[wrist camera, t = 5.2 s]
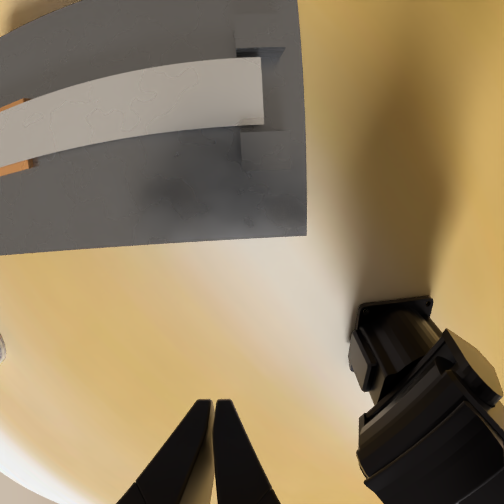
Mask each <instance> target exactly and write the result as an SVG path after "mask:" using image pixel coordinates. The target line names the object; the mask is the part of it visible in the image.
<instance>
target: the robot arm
mask: <svg viewBox="0 0 504 504" xmlns="http://www.w3.org/2000/svg"><path fill="white" fill-rule="evenodd" d="M427 302H428V303H427ZM426 303H427V304H426ZM432 306H433V299H432V298H431V297H430V296H422V297H414V298H407V299H399V300H390V301H382V302H373V303H364V304H362V305H360V307H359V308H358V313H357V320H356V327H355V330H354V331H353V332H352V335H351V341H350V348H349V354H348V358H349V360H350V363H349V367H350V370H351V371H352V372H354V373H355V375H356V377H357V380H358V383H359V385H360V388H361V390H362V391H363V392H368V391H369V393H370V395H371V398H372V400H373V403H374V405H375V406H374V407H373V408H372V409H370V410H369V411H368V412H367V413H364V414H363V415H362V416H361V417H360V418H359V448H358V450H357V451H356V456H357V459H358V462H359V466H360V469H361V471H362V473H363V475H364V476H365V477H366V480H365V481H364V484H365V485H366V486H367V487H368V488H369V489H371V490H372V491H373V492H374V493H375V494H376V495H377V496H378V497H379V498H380V500H381V501H382V502H383V503H384V504H504V406H503V405H502V403H501V402H500V401H499V400H500V399H501V398H502V397H503V396H504V395H503V391H502V388H501V386H500V383H499V380H498V377H497V374H496V372H495V369H494V367H493V366H492V365H491V364H490V363H489V362H488V361H487V359H486V358H485V357H484V356H483V355H482V354H481V353H480V352H479V351H478V350H477V349H476V348H475V347H474V346H472V345H471V344H469V343H468V342H466V341H465V340H463V339H462V338H461V337H459V336H458V335H456V334H455V333H453V332H452V331H450V330H449V329H447V328H446V329H445V331H444V332H443V333H442V332H441V331H440V329H439V328H438V327H437V326H436V325H435V323H434V322H433V321H432V320H431V319H430V314H431V310H432ZM365 309H367V311H365V312H363V311H364V310H365ZM214 473H215V479H216V490H217V500H218V504H281V503H280V502H279V500H278V498H277V496H276V494H275V492H274V490H273V489H272V486H271V484H270V482H269V480H268V478H267V476H266V474H265V472H264V470H263V468H262V466H261V464H260V462H259V460H258V458H257V455H256V453H255V451H254V449H253V447H252V445H251V443H250V440H249V438H248V436H247V434H246V432H245V429H244V427H243V425H242V423H241V420H240V418H239V416H238V414H237V411H236V409H235V407H234V404H233V402H232V400H231V399H218V400H217V403H216V410H215V411H214V406H213V402H212V400H210V399H198V400H197V401H196V402H195V403H194V405H193V406H192V407H191V409H190V410H189V412H188V413H187V414H186V416H185V417H184V418H183V420H182V421H181V422H180V424H179V425H178V426H177V428H176V429H175V430H174V432H173V433H172V434H171V436H170V437H169V438H168V440H167V441H166V442H165V443H164V445H163V446H162V447H161V449H160V450H159V451H158V453H157V454H156V455H155V456H154V458H153V459H152V460H151V462H150V463H149V464H148V465H147V467H146V468H145V469H144V471H143V472H142V473H141V474H140V476H139V477H138V478H137V479H136V483H135V482H134V483H133V484H132V486H131V487H130V488H129V489H128V491H127V492H126V493H125V494H124V495H123V496H122V498H121V499H120V500H119V501H118V502H117V503H116V504H210V500H211V493H212V486H213V480H214Z"/></svg>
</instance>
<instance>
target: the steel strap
mask: <svg viewBox="0 0 504 504" xmlns="http://www.w3.org/2000/svg"><path fill="white" fill-rule="evenodd" d="M244 125H264V110H263V90H262V71H261V57H247V58H228V59H215V60H204V61H195V62H186V63H178V64H171V65H165V66H158V67H152V68H147V69H141V70H136V71H131V72H126V73H121V74H117V75H112V76H108V77H104V78H100V79H96V80H92V81H88V82H85V83H81V84H78V85H74V86H71V87H67V88H64V89H61V90H58V91H55V92H52V93H49V94H46V95H43V96H40V97H37V98H34V99H32V100H29V101H26V102H24V103H21V104H18V105H16V106H13V107H11V108H9V109H6V110H4V111H1V112H0V168H1V167H4V166H7V165H11V164H14V163H17V162H21V161H25V160H28V159H32V158H36V157H39V156H43V155H47V154H51V153H55V152H59V151H64V150H68V149H73V148H77V147H82V146H87V145H92V144H97V143H102V142H107V141H113V140H118V139H124V138H131V137H137V136H144V135H151V134H158V133H166V132H174V131H183V130H192V129H203V128H214V127H228V126H244Z"/></svg>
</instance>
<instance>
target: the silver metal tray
mask: <svg viewBox="0 0 504 504" xmlns="http://www.w3.org/2000/svg"><path fill="white" fill-rule="evenodd" d="M247 57H261V71H262V90H263V110H264V125H244V126H228V127H214V128H203V129H192V130H183V131H174V132H166V133H158V134H151V135H144V136H137V137H131V138H124V139H118V140H113V141H107V142H102V143H97V144H92V145H87V146H82V147H77V148H73V149H68V150H64V151H59V152H55V153H51V154H47V155H43V156H39V157H36V158H32V159H28V160H25V161H21V162H17V163H14V164H11V165H7V166H4V167H1V168H0V255H11V254H24V253H36V252H49V251H63V250H76V249H90V248H104V247H118V246H133V245H149V244H164V243H180V242H197V241H213V240H231V239H249V238H268V237H287V236H307V180H306V134H305V107H304V86H303V68H302V53H301V39H300V27H299V15H298V4H297V0H82V1H79V2H76V3H74V4H71V5H68V6H66V7H63V8H61V9H58V10H56V11H53V12H51V13H49V14H46V15H44V16H42V17H40V18H38V19H35V20H33V21H31V22H29V23H27V24H25V25H23V26H21V27H19V28H17V29H15V30H13V31H11V32H9V33H8V34H6V35H4V36H2V37H0V112H1V111H4V110H6V109H9V108H11V107H13V106H16V105H18V104H21V103H24V102H26V101H29V100H32V99H34V98H37V97H40V96H43V95H46V94H49V93H52V92H55V91H58V90H61V89H64V88H67V87H71V86H74V85H78V84H81V83H85V82H88V81H92V80H96V79H100V78H104V77H108V76H112V75H117V74H121V73H126V72H131V71H136V70H141V69H147V68H152V67H158V66H165V65H171V64H178V63H186V62H195V61H204V60H215V59H228V58H247Z"/></svg>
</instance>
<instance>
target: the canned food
mask: <svg viewBox="0 0 504 504" xmlns="http://www.w3.org/2000/svg"><path fill="white" fill-rule="evenodd" d="M5 357H6V349H5V345H4V342H3V339H2V337H1V335H0V365H1V364H2V362H3V361H4V359H5Z"/></svg>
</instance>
